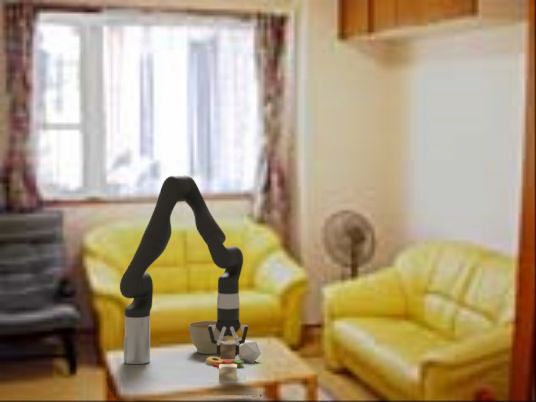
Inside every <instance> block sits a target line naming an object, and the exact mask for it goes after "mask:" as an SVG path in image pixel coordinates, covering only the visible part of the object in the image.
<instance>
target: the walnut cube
mask: <svg viewBox="0 0 536 402" xmlns="http://www.w3.org/2000/svg"><path fill="white" fill-rule="evenodd" d="M235 344H236V343H235V340H234V341H231V340H230V341H229V340H227V341H221V344H220V356H219V358H220V359H235V358H236V356H235Z"/></svg>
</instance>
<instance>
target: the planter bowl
mask: <svg viewBox="0 0 536 402" xmlns="http://www.w3.org/2000/svg"><path fill="white" fill-rule="evenodd" d="M216 323H217V320H203V321H202V320H200V321H194V322H189V324H188V330H189V336H190V340H191V342H192V344H193V346H194V347H195V348H196V351H197V353H199V354H204V355H215V354H217V345H216V344H214V343H212V342H211V338H210V334H209V330H208V326H209V325H216ZM213 333H214V337H215V339H216V340H218V337H219V335H220V332H219V331H218V329H217V328H215V331H214V332H213ZM229 337H230V336H223V338H222V341H229ZM220 344H221V343H220Z"/></svg>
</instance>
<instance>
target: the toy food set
mask: <svg viewBox="0 0 536 402" xmlns="http://www.w3.org/2000/svg"><path fill="white" fill-rule="evenodd" d="M205 363H206V364H207V365H208V366H209V367H211V366H212V367H213V368H217V369H218V370H219V364H237V369H238V368H241V367H244V365H245V364H244V363H245V362H244V361H242V359H241V358H239V357H235V359H220V356H218V357H217V356H208V357H206V359H205Z"/></svg>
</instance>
